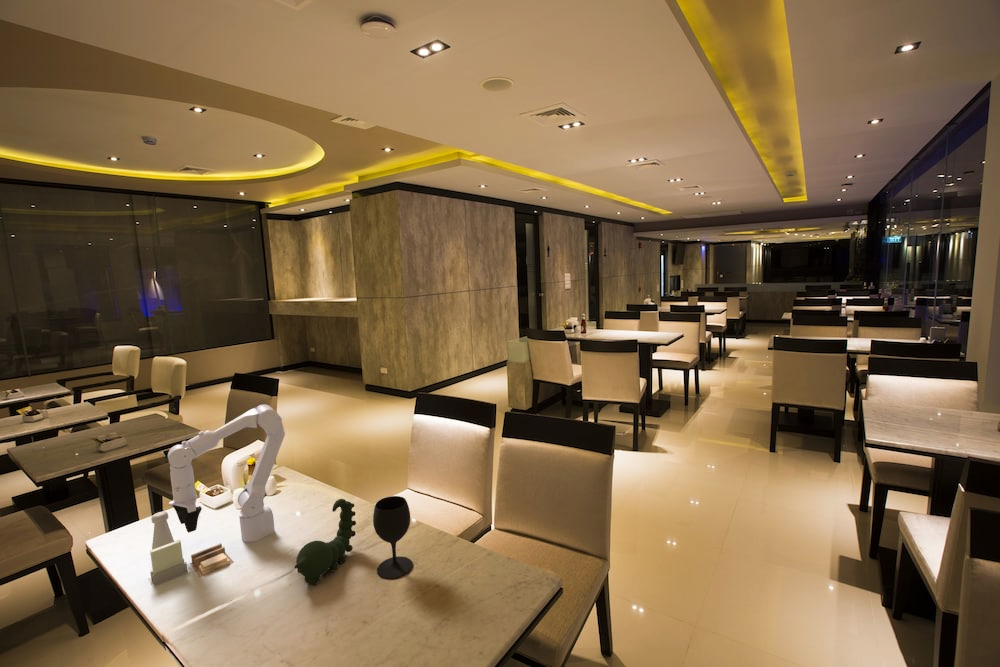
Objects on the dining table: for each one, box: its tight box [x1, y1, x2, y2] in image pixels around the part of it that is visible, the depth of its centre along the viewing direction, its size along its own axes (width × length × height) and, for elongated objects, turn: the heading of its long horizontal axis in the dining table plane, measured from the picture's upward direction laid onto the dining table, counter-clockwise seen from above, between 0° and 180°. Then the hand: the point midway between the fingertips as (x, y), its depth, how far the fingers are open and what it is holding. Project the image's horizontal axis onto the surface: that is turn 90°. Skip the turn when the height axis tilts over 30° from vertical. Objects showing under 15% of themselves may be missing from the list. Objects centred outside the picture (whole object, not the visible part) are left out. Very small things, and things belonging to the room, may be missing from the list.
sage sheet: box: [149, 539, 184, 575], centre depth 133 cm, size 7×2×9 cm, turn 137°
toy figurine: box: [294, 498, 357, 586], centre depth 134 cm, size 9×19×25 cm
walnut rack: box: [189, 542, 235, 578], centre depth 139 cm, size 9×10×3 cm
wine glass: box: [372, 495, 414, 580], centre depth 133 cm, size 10×10×20 cm
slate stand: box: [148, 557, 191, 588], centre depth 133 cm, size 9×6×3 cm, turn 137°
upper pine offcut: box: [201, 553, 227, 570], centre depth 137 cm, size 6×4×1 cm, turn 137°
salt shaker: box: [151, 510, 175, 550], centre depth 146 cm, size 6×6×13 cm
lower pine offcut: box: [199, 555, 230, 575], centre depth 137 cm, size 7×4×1 cm, turn 137°
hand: (188, 526), depth 141 cm, fingers open, 7 cm apart
